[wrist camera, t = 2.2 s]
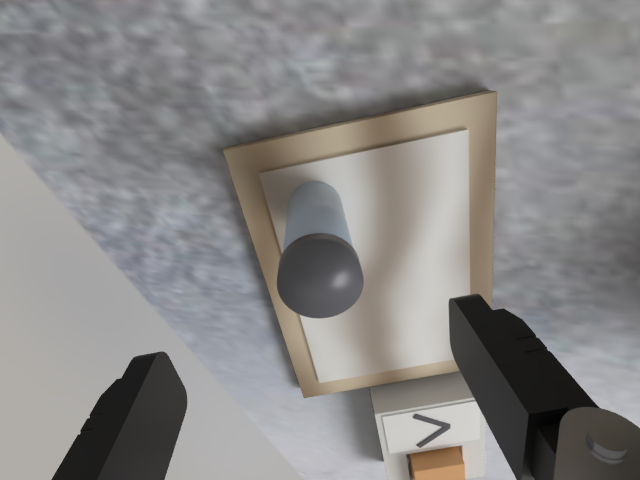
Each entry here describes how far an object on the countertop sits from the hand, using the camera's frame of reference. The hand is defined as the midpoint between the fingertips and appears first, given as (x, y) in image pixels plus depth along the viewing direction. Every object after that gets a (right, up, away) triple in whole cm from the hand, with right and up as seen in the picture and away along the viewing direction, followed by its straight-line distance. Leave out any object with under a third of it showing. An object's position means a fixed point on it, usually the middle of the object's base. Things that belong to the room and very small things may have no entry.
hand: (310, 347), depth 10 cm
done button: (+10, -15, +19) cm, 26 cm away
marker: (0, +5, +10) cm, 11 cm away
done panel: (+9, -12, +20) cm, 25 cm away
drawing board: (+4, +1, +13) cm, 14 cm away
